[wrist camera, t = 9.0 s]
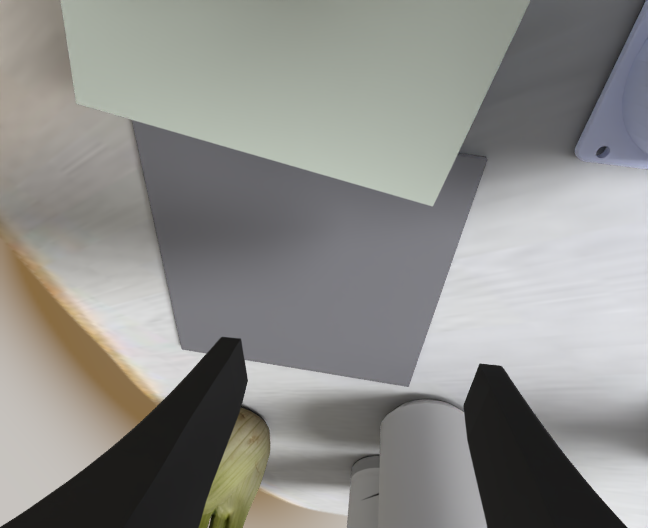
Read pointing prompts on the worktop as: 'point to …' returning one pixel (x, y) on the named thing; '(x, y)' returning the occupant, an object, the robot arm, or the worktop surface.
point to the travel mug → (364, 494)
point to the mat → (300, 257)
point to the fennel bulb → (238, 473)
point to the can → (427, 469)
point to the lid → (300, 78)
